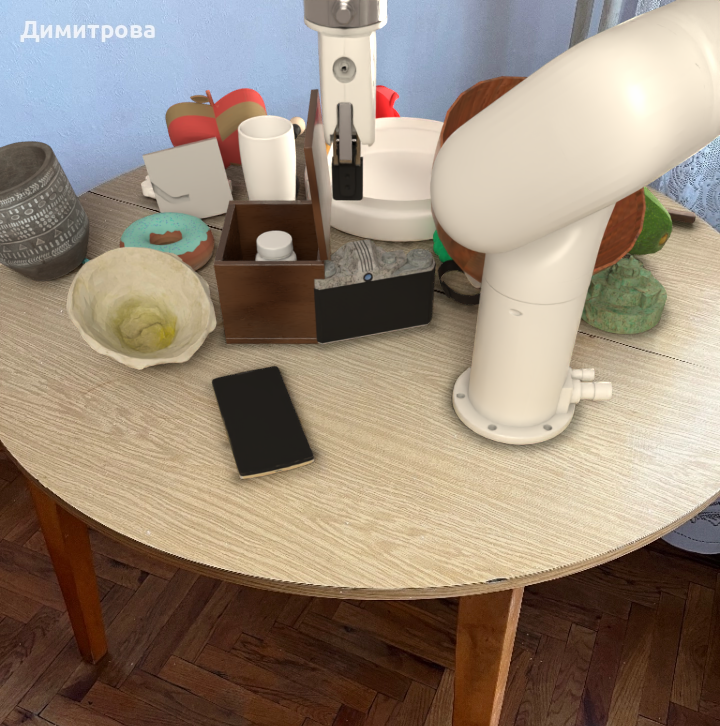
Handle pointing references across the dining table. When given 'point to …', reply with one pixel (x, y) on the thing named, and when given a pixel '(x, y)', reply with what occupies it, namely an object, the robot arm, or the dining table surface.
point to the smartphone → (261, 422)
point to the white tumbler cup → (268, 157)
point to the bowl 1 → (141, 307)
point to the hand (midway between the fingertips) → (347, 196)
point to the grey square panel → (190, 179)
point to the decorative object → (214, 120)
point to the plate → (392, 183)
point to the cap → (385, 102)
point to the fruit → (653, 227)
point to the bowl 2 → (613, 247)
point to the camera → (373, 291)
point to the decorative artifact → (624, 299)
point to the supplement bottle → (275, 247)
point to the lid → (318, 173)
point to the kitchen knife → (681, 216)
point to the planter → (39, 214)
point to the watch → (460, 298)
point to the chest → (268, 274)
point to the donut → (172, 236)
